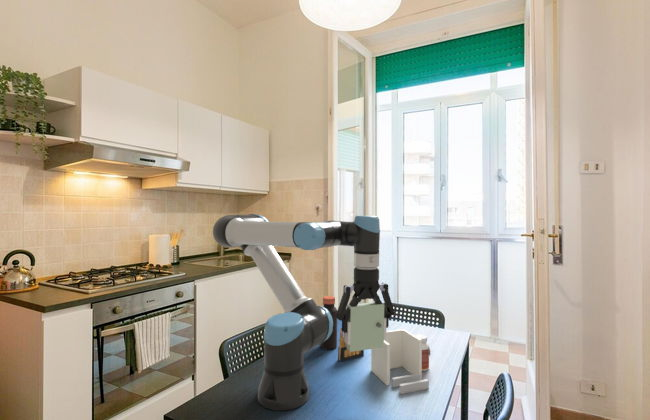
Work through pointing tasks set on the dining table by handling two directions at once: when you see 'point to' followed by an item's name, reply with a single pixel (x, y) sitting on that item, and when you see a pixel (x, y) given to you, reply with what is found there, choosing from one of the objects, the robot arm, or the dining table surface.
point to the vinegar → (332, 340)
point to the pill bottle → (424, 352)
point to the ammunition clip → (344, 352)
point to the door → (366, 326)
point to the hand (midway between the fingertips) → (365, 340)
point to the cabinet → (400, 361)
